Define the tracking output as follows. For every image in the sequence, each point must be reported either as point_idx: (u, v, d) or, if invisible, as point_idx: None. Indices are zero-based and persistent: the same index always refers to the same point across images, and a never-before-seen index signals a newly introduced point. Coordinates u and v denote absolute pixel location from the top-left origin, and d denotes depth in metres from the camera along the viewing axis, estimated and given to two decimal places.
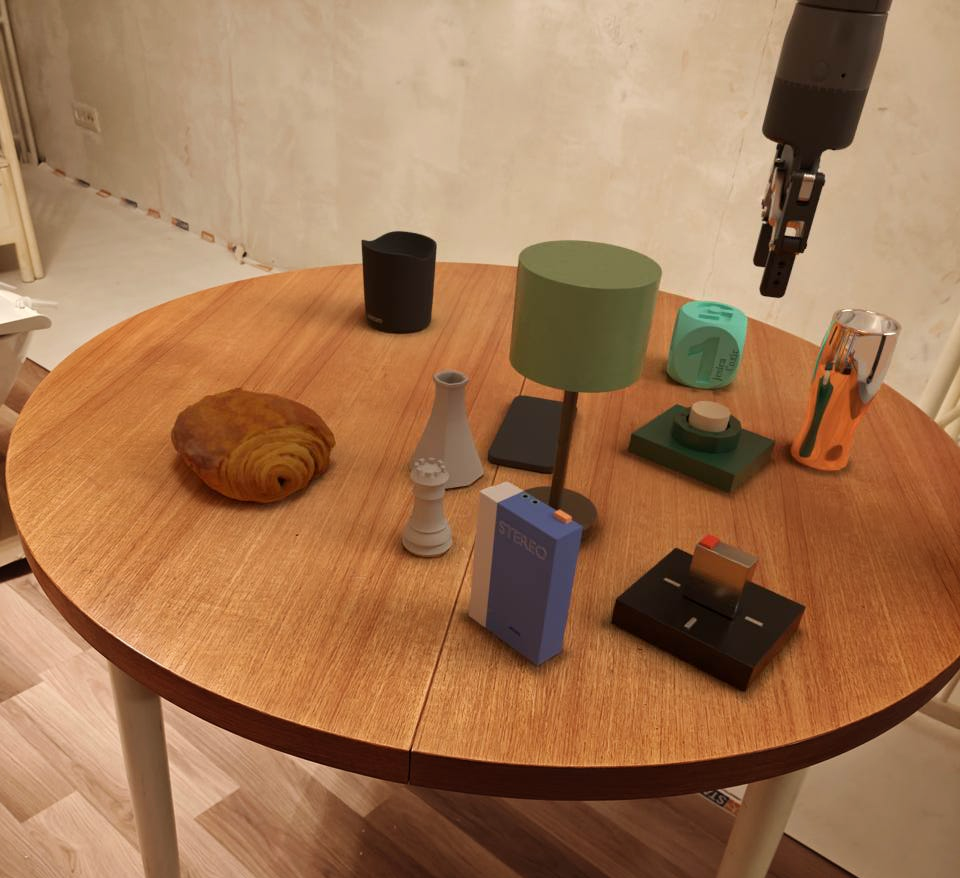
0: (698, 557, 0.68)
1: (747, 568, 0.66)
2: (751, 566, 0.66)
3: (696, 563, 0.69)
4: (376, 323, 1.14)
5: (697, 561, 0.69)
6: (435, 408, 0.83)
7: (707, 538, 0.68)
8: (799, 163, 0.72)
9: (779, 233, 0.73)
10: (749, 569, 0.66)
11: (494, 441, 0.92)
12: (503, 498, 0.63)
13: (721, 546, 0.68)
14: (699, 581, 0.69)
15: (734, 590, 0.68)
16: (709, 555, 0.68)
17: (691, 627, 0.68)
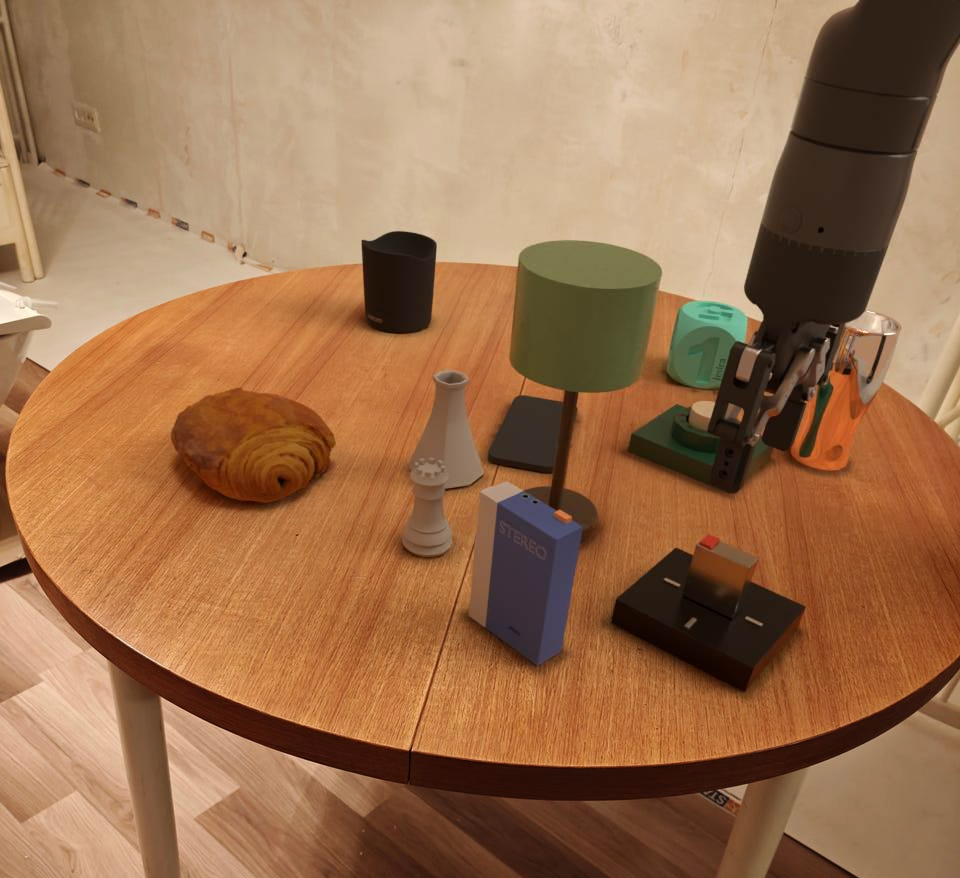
0: (698, 557, 0.68)
1: (747, 568, 0.66)
2: (751, 566, 0.66)
3: (696, 563, 0.69)
4: (376, 323, 1.14)
5: (697, 561, 0.69)
6: (435, 408, 0.83)
7: (707, 538, 0.68)
8: (762, 332, 0.54)
9: (712, 415, 0.55)
10: (749, 569, 0.66)
11: (494, 441, 0.92)
12: (503, 498, 0.63)
13: (721, 546, 0.68)
14: (699, 581, 0.69)
15: (734, 590, 0.68)
16: (709, 555, 0.68)
17: (691, 627, 0.68)
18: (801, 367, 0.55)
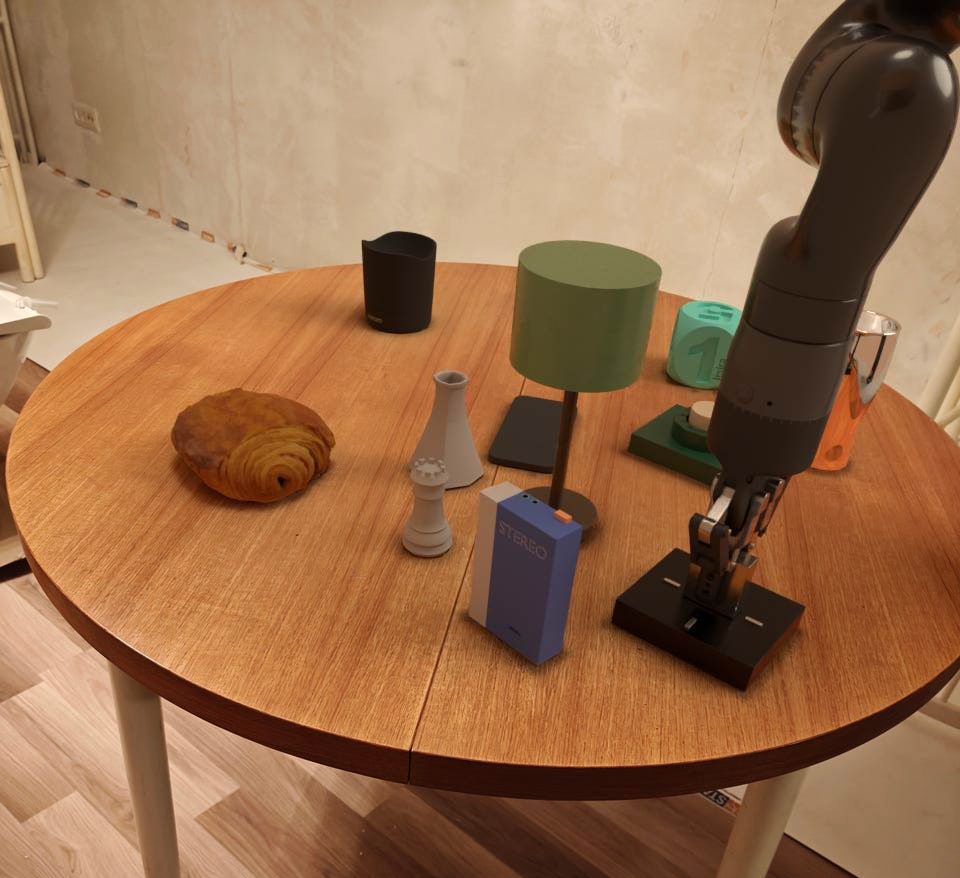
0: None
1: (747, 568, 0.66)
2: (751, 566, 0.66)
3: None
4: (376, 323, 1.14)
5: None
6: (435, 408, 0.83)
7: None
8: (722, 482, 0.61)
9: (691, 555, 0.65)
10: (749, 569, 0.66)
11: (494, 441, 0.92)
12: (503, 497, 0.63)
13: None
14: None
15: (734, 590, 0.68)
16: None
17: (691, 627, 0.68)
18: (757, 514, 0.62)
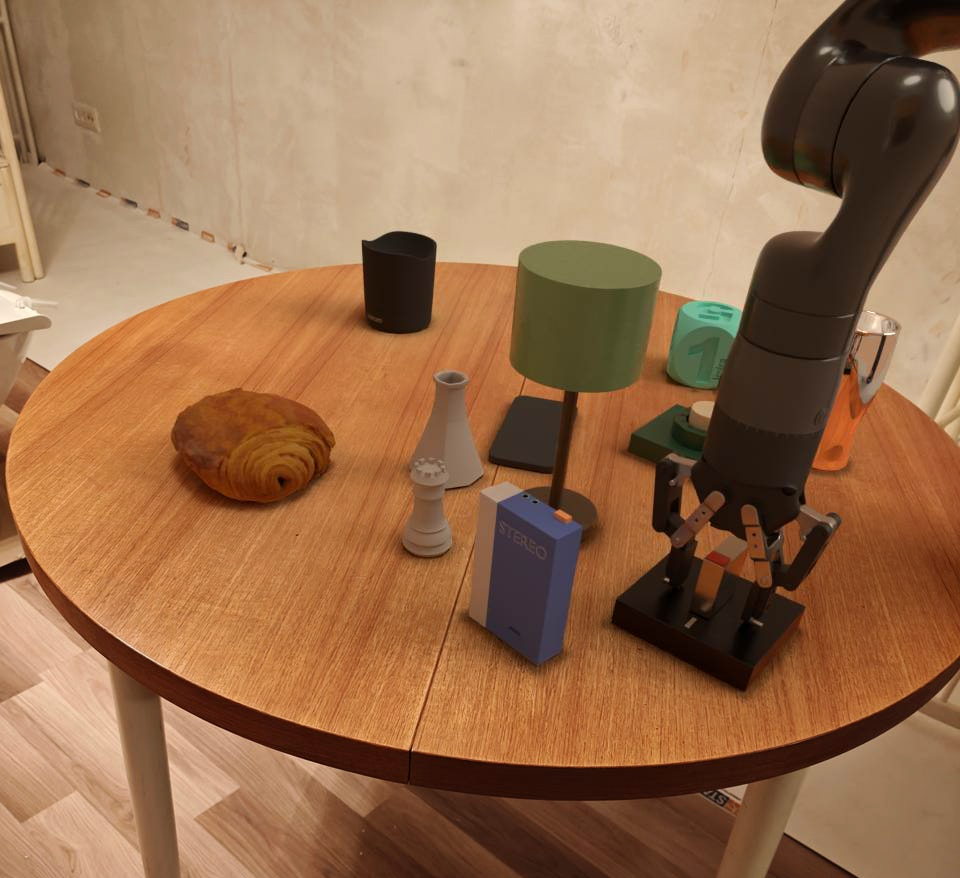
0: (724, 576, 0.67)
1: None
2: None
3: (722, 582, 0.67)
4: (376, 323, 1.14)
5: (723, 580, 0.67)
6: (435, 408, 0.83)
7: (716, 557, 0.66)
8: (797, 500, 0.61)
9: (800, 579, 0.63)
10: None
11: (494, 441, 0.92)
12: (503, 497, 0.63)
13: (722, 553, 0.67)
14: (721, 594, 0.68)
15: (739, 571, 0.70)
16: (730, 565, 0.67)
17: (691, 627, 0.68)
18: None
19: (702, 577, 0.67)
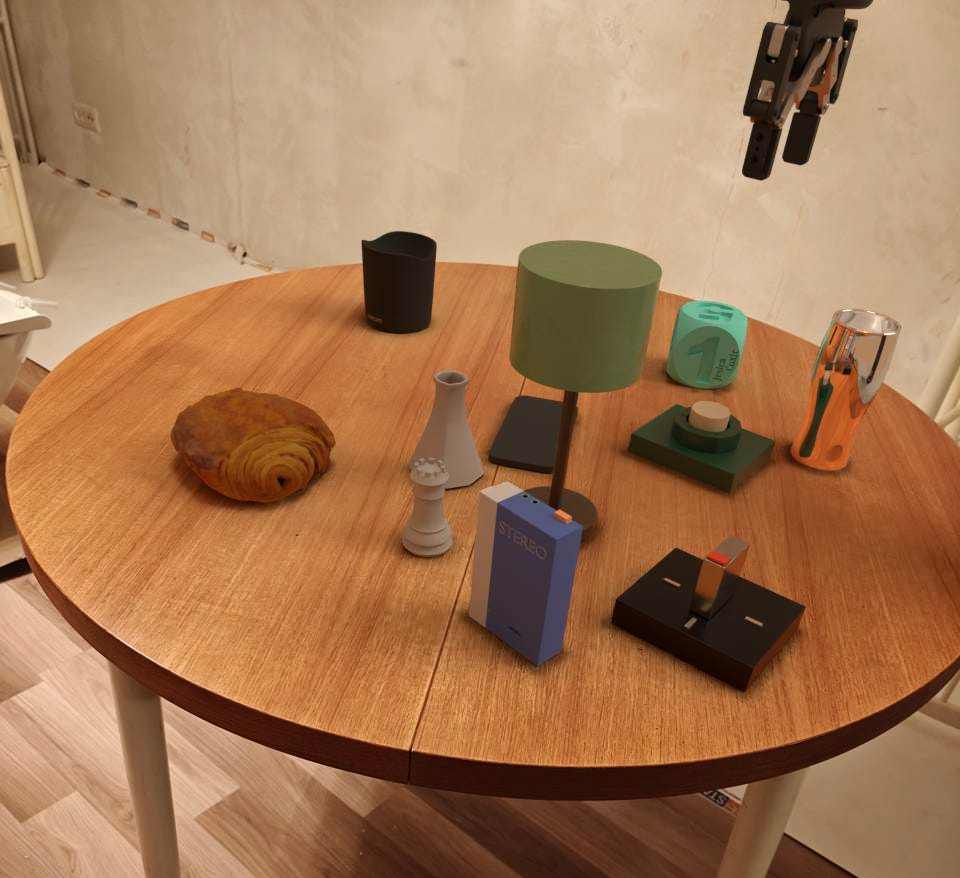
0: (724, 576, 0.67)
1: (749, 545, 0.69)
2: None
3: (722, 582, 0.67)
4: (376, 323, 1.14)
5: (723, 580, 0.67)
6: (435, 408, 0.83)
7: (716, 557, 0.66)
8: (789, 19, 0.65)
9: (747, 95, 0.66)
10: (748, 544, 0.69)
11: (495, 441, 0.92)
12: (503, 497, 0.63)
13: (722, 553, 0.67)
14: (721, 594, 0.68)
15: (739, 571, 0.70)
16: (730, 565, 0.67)
17: (691, 627, 0.68)
18: (820, 54, 0.66)
19: (702, 577, 0.67)
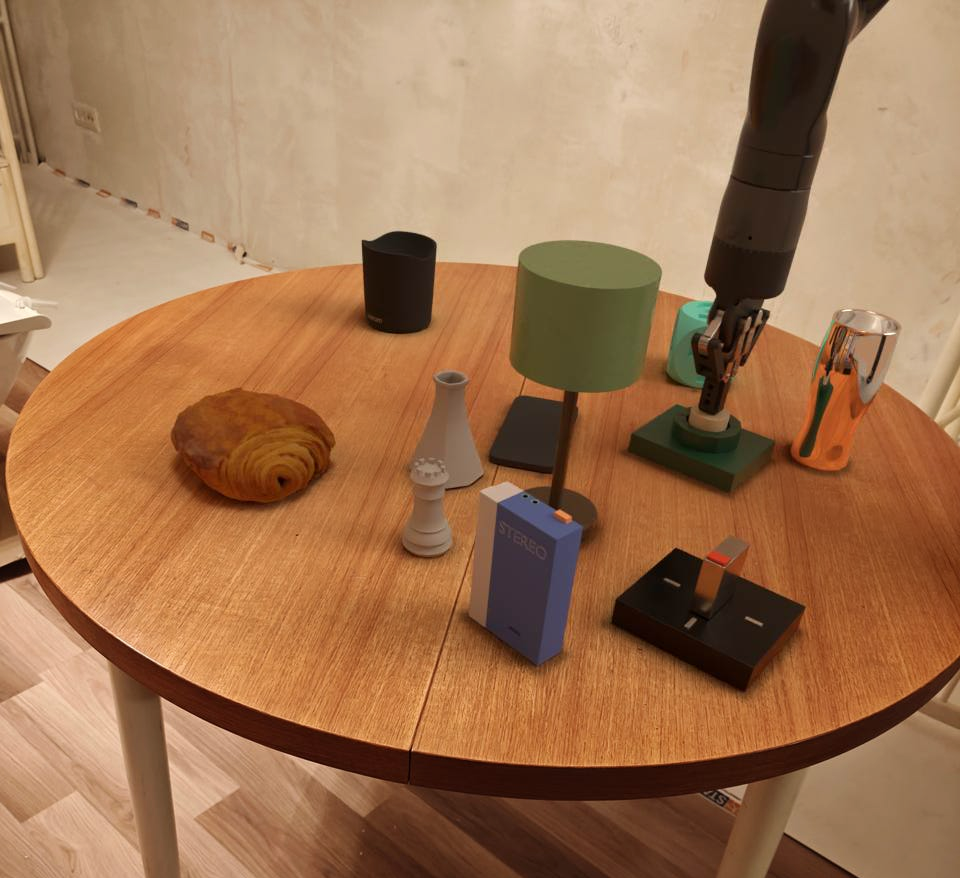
0: (724, 576, 0.67)
1: (749, 545, 0.69)
2: None
3: (722, 582, 0.67)
4: (376, 323, 1.14)
5: (723, 580, 0.67)
6: (435, 408, 0.83)
7: (716, 557, 0.66)
8: (715, 305, 0.82)
9: (696, 367, 0.86)
10: (748, 544, 0.69)
11: (495, 441, 0.92)
12: (503, 497, 0.63)
13: (722, 553, 0.67)
14: (721, 594, 0.68)
15: (739, 571, 0.70)
16: (730, 565, 0.67)
17: (691, 627, 0.68)
18: (742, 333, 0.83)
19: (702, 577, 0.67)
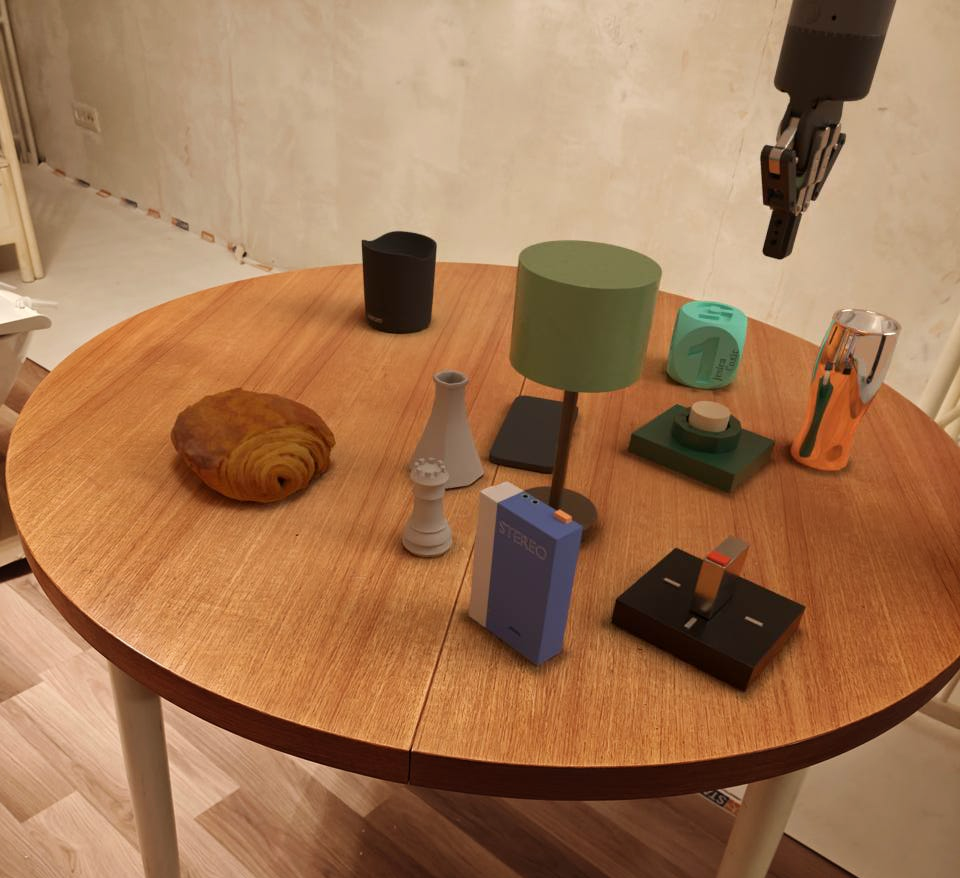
0: (724, 576, 0.67)
1: (749, 545, 0.69)
2: None
3: (722, 582, 0.67)
4: (376, 323, 1.14)
5: (723, 580, 0.67)
6: (435, 408, 0.83)
7: (716, 557, 0.66)
8: (789, 111, 0.70)
9: (763, 195, 0.74)
10: (748, 544, 0.69)
11: (495, 441, 0.92)
12: (503, 497, 0.63)
13: (722, 553, 0.67)
14: (721, 594, 0.68)
15: (739, 571, 0.70)
16: (730, 565, 0.67)
17: (691, 627, 0.68)
18: (819, 148, 0.72)
19: (702, 577, 0.67)
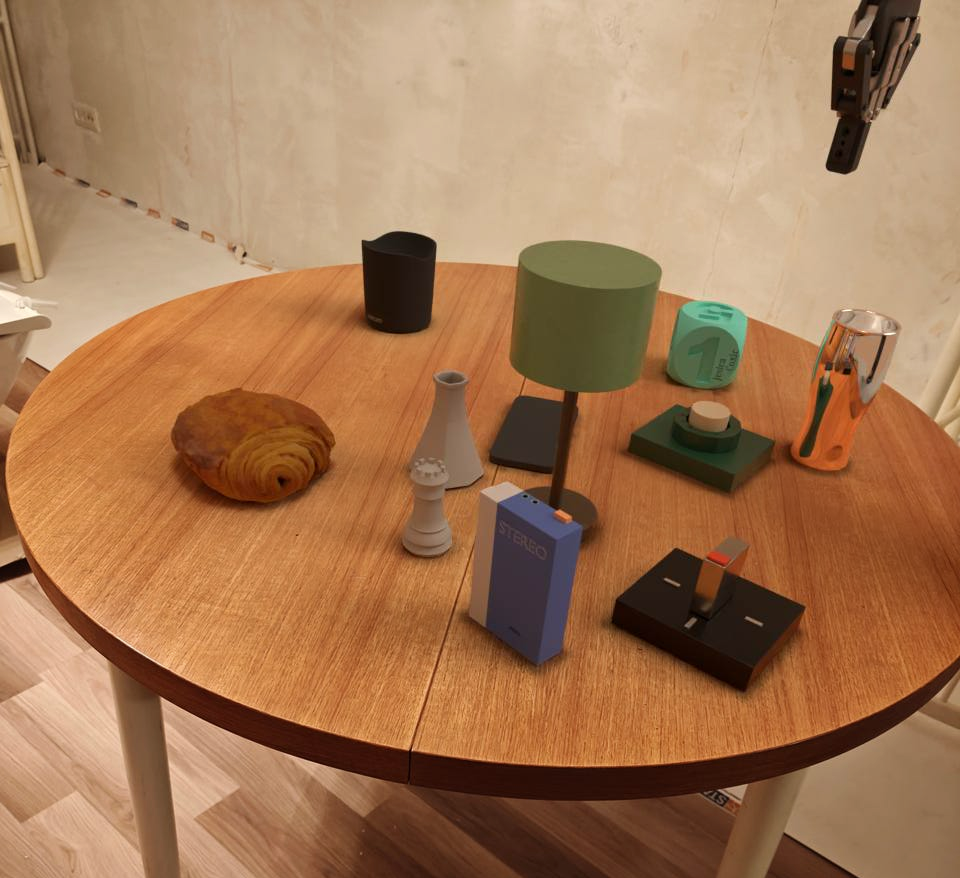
0: (724, 576, 0.67)
1: (749, 545, 0.69)
2: None
3: (722, 582, 0.67)
4: (376, 323, 1.14)
5: (723, 580, 0.67)
6: (435, 408, 0.83)
7: (716, 557, 0.66)
8: None
9: (832, 98, 0.67)
10: (748, 544, 0.69)
11: (495, 441, 0.92)
12: (503, 498, 0.63)
13: (722, 553, 0.67)
14: (721, 594, 0.68)
15: (739, 571, 0.70)
16: (730, 565, 0.67)
17: (691, 627, 0.68)
18: (897, 42, 0.65)
19: (702, 577, 0.67)
